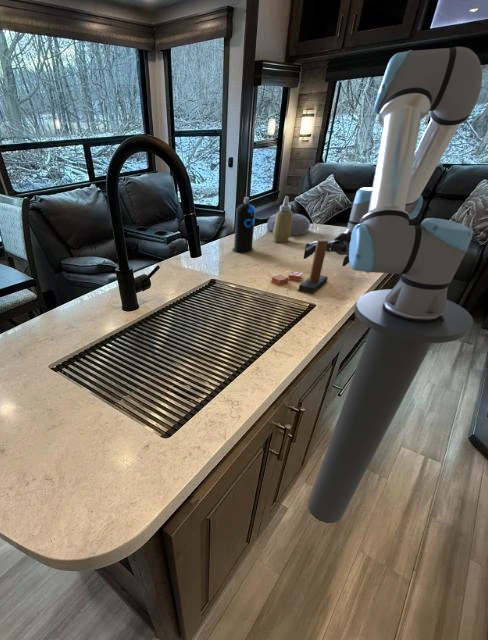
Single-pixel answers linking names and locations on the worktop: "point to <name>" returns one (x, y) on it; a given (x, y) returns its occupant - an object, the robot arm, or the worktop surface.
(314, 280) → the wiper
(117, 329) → the worktop surface
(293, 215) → the grey oval stone
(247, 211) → the aerosol can
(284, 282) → the red square block
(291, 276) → the pink square block
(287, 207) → the squeeze bottle
